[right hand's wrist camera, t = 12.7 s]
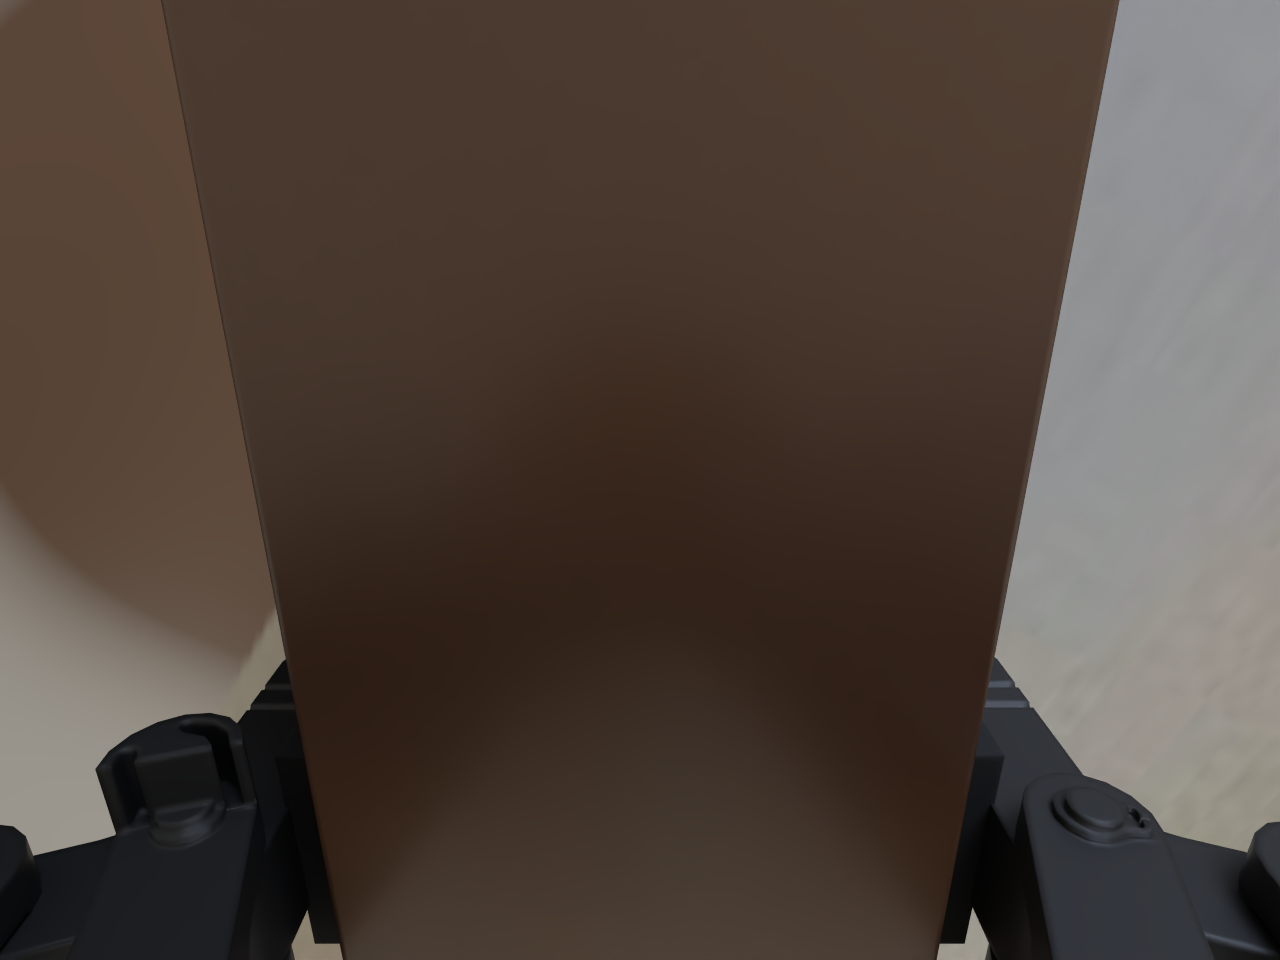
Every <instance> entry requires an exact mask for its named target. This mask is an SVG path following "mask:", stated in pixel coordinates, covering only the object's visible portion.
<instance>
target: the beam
mask: <svg viewBox="0 0 1280 960" xmlns="http://www.w3.org/2000/svg"><path fill="white" fill-rule="evenodd" d="M161 2H162V7H163V12H164V18H165V23H166V28H167V33H168V39H169V44H170V49H171V55H172V60H173V65H174V70H175V76H176V81H177V86H178V91H179V97H180V102H181V107H182V112H183V118H184V123H185V129H186V134H187V139H188V144H189V150H190V155H191V160H192V165H193V171H194V176H195V181H196V187H197V192H198V197H199V202H200V208H201V213H202V218H203V224H204V229H205V234H206V239H207V245H208V250H209V255H210V260H211V266H212V271H213V276H214V281H215V287H216V292H217V297H218V303H219V308H220V313H221V318H222V324H223V329H224V334H225V340H226V345H227V350H228V355H229V361H230V366H231V371H232V377H233V382H234V387H235V392H236V398H237V403H238V408H239V414H240V419H241V424H242V429H243V435H244V440H245V445H246V451H247V455H248V461H249V466H250V472H251V477H252V482H253V488H254V493H255V498H256V503H257V509H258V514H259V519H260V524H261V530H262V535H263V540H264V546H265V551H266V556H267V561H268V567H269V572H270V577H271V583H272V588H273V593H274V598H275V604H276V609H277V614H278V620H279V625H280V630H281V635H282V641H283V646H284V651H285V656H286V662H287V667H288V672H289V678H290V683H291V688H292V693H293V699H294V704H295V709H296V715H297V720H298V725H299V730H300V736H301V741H302V746H303V752H304V757H305V762H306V767H307V773H308V778H309V783H310V788H311V794H312V799H313V804H314V810H315V815H316V820H317V825H318V831H319V836H320V841H321V847H322V852H323V857H324V862H325V868H326V873H327V878H328V884H329V889H330V894H331V899H332V905H333V910H334V915H335V920H336V926H337V931H338V936H339V942H340V947H341V952H342V957H343V960H937V955H938V949H939V944H940V939H941V934H942V928H943V923H944V918H945V913H946V907H947V902H948V897H949V892H950V886H951V881H952V876H953V871H954V865H955V860H956V855H957V850H958V844H959V839H960V834H961V829H962V823H963V818H964V813H965V808H966V802H967V797H968V792H969V787H970V781H971V776H972V771H973V766H974V760H975V755H976V750H977V745H978V739H979V734H980V729H981V724H982V718H983V713H984V708H985V703H986V697H987V692H988V687H989V682H990V676H991V671H992V666H993V661H994V655H995V650H996V645H997V640H998V634H999V629H1000V624H1001V619H1002V613H1003V608H1004V603H1005V598H1006V593H1007V587H1008V582H1009V577H1010V572H1011V566H1012V561H1013V556H1014V551H1015V545H1016V540H1017V535H1018V530H1019V524H1020V519H1021V514H1022V509H1023V503H1024V498H1025V493H1026V488H1027V482H1028V477H1029V472H1030V467H1031V461H1032V456H1033V451H1034V446H1035V440H1036V435H1037V430H1038V425H1039V419H1040V414H1041V409H1042V404H1043V398H1044V393H1045V388H1046V383H1047V377H1048V372H1049V367H1050V362H1051V356H1052V351H1053V346H1054V341H1055V335H1056V330H1057V325H1058V320H1059V314H1060V309H1061V304H1062V299H1063V293H1064V288H1065V283H1066V278H1067V272H1068V267H1069V262H1070V257H1071V251H1072V246H1073V241H1074V236H1075V230H1076V225H1077V220H1078V215H1079V209H1080V204H1081V199H1082V194H1083V188H1084V183H1085V178H1086V173H1087V168H1088V162H1089V157H1090V152H1091V147H1092V141H1093V136H1094V131H1095V126H1096V120H1097V115H1098V110H1099V105H1100V99H1101V94H1102V89H1103V84H1104V78H1105V73H1106V68H1107V63H1108V57H1109V52H1110V47H1111V42H1112V36H1113V31H1114V26H1115V21H1116V15H1117V10H1118V5H1119V0H161Z"/></svg>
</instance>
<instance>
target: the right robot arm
mask: <svg viewBox="0 0 1280 960" xmlns="http://www.w3.org/2000/svg"><path fill="white" fill-rule="evenodd" d="M96 773H97V776H98V779H99V782H100V785H101V788H102V791H103V794H104V798H105V800H106V804H107V807H108V810H109V813H110V816H111V819H112V822H113V825H114V829H115V832H116V835H115V836H111V837H108V838H105V839H102V840H98V841H94V842H90V843H86V844H81V845H77V846H73V847H68V848H64V849H60V850H56V851H52V852H47V853H43V854H39V855H35V856H33V854H32V852H31V849H30V846H29V844H28V841H27V839H26V836H25V835H23V834H22V833H21V832H20V831H18V830H17V829H16V828H15V827H13V826H5V825H0V960H295V958H294V954H293V949H292V943H293V940H294V938H295V936H296V934H297V932H298V929H299V927H300V925H301V923H302V920H303V918H304V916H305V914H306V912H307V909H308V914H309V918H310V923H311V928H312V932H313V937H314V942H315V944H340V942H339V936H338V931H337V926H336V920H335V915H334V910H333V905H332V899H331V894H330V889H329V884H328V878H327V873H326V868H325V862H324V857H323V852H322V847H321V841H320V836H319V831H318V825H317V820H316V815H315V810H314V804H313V799H312V794H311V788H310V783H309V778H308V773H307V767H306V762H305V757H304V752H303V746H302V741H301V736H300V730H299V725H298V720H297V715H296V709H295V704H294V699H293V693H292V688H291V683H290V678H289V672H288V667H287V662H286V660H284V661H283V662H282V663H281V665H280V666H279V667H278V669H277V670H276V671H275V673H274V674H273V675H272V677H271V678H270V680H269V681H268V682H267V684H266V685H265V690H261V692H260V693H259V694H258V696H257V697H256V699H255V700H254V701H253V703H252V704H251V709H250V710H247V711H246V712H245V714H244V715H243V716H242V718H241V719H240V720H239V722H238V723H236V722H235V721H233V720H232V719H231V718H230V717H226V716H222V715H217V714H213V713H202V714H188V715H182V716H178V717H175V718H171V719H167V720H164V721H160V722H157V723H155V724H153V725H151V726H149V727H146V728H144V729H142V730H140V731H138V732H136V733H134V734H132V735H130V736H129V737H127V738H126V739H125V740H123V741H122V742H121V743H119V744H118V745H117V746H115V747H114V748H113V749H111V750H110V751H109V752H108V753H107V755H106V756H105V757H104V758H103V760H102V761H101V762H100V764H99V765H98V766H97V768H96ZM972 907H973V909H974V911H975V913H976V916H977V918H978V920H979V922H980V924H981V927H982V929H983V931H984V933H985V935H986V938H987V940H988V942H989V945H988V949H987V954H986V958H985V960H1280V822H1272V823H1267V824H1265V825H1264V826H1263V827H1262V828H1260V829H1259V830H1258V831H1257V832H1255V834H1254V836H1253V839H1252V842H1251V844H1250V847H1249V850H1248V852H1243V851H1238V850H1234V849H1230V848H1225V847H1221V846H1217V845H1213V844H1208V843H1204V842H1200V841H1196V840H1191V839H1187V838H1183V837H1179V836H1176V835H1173V834H1169V833H1166V832H1164V831H1163V830H1162V828H1161V827H1160V825H1159V824H1158V822H1157V821H1156V819H1155V818H1154V816H1153V815H1152V813H1151V812H1149V811H1148V810H1147V809H1146V808H1145V807H1143V806H1142V805H1141V804H1140V803H1139V802H1138V801H1136V800H1135V799H1134V798H1133V797H1132V796H1130V795H1128V794H1127V793H1125V792H1123V791H1121V790H1119V789H1117V788H1115V787H1113V786H1112V785H1110V784H1108V783H1106V782H1103V781H1100V780H1096V779H1093V778H1090V777H1087V776H1083V774H1082V773H1081V772H1080V770H1079V769H1078V768H1077V766H1076V765H1075V763H1074V762H1073V761H1072V759H1071V758H1070V757H1069V755H1068V754H1067V753H1066V751H1065V750H1064V749H1063V747H1062V746H1061V745H1060V743H1059V742H1058V741H1057V739H1056V738H1055V736H1054V735H1053V734H1052V732H1051V731H1050V730H1049V728H1048V727H1047V726H1046V724H1045V723H1044V722H1043V720H1042V719H1041V718H1040V716H1039V715H1038V714H1037V712H1036V711H1035V710H1034V708H1030V706H1029V701H1028V700H1027V699H1026V697H1025V696H1024V695H1023V693H1022V692H1021V691H1020V689H1019V688H1015V683H1014V681H1013V680H1012V678H1011V677H1010V676H1009V674H1008V673H1007V672H1006V670H1005V669H1004V668H1003V666H1002V665H1001V664H1000V662H999V661H998V660H997V659H996V658H995V657H994V661H993V666H992V671H991V676H990V682H989V687H988V692H987V697H986V703H985V708H984V713H983V718H982V724H981V729H980V734H979V739H978V745H977V750H976V755H975V760H974V766H973V771H972V776H971V781H970V787H969V792H968V797H967V802H966V808H965V813H964V818H963V823H962V829H961V834H960V839H959V844H958V850H957V855H956V860H955V865H954V871H953V876H952V881H951V886H950V892H949V897H948V902H947V907H946V913H945V918H944V923H943V928H942V934H941V939H940V944H965V939H966V934H967V930H968V925H969V921H970V916H971V911H972Z"/></svg>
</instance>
